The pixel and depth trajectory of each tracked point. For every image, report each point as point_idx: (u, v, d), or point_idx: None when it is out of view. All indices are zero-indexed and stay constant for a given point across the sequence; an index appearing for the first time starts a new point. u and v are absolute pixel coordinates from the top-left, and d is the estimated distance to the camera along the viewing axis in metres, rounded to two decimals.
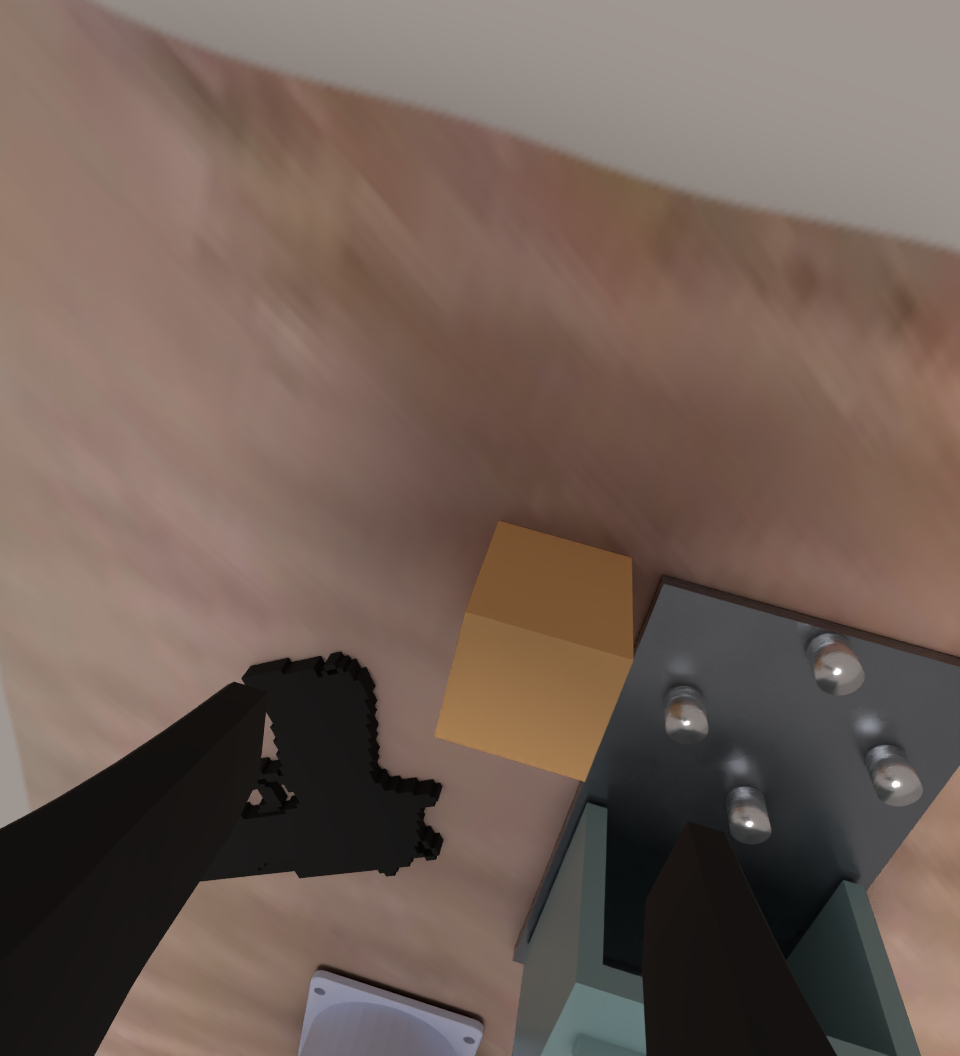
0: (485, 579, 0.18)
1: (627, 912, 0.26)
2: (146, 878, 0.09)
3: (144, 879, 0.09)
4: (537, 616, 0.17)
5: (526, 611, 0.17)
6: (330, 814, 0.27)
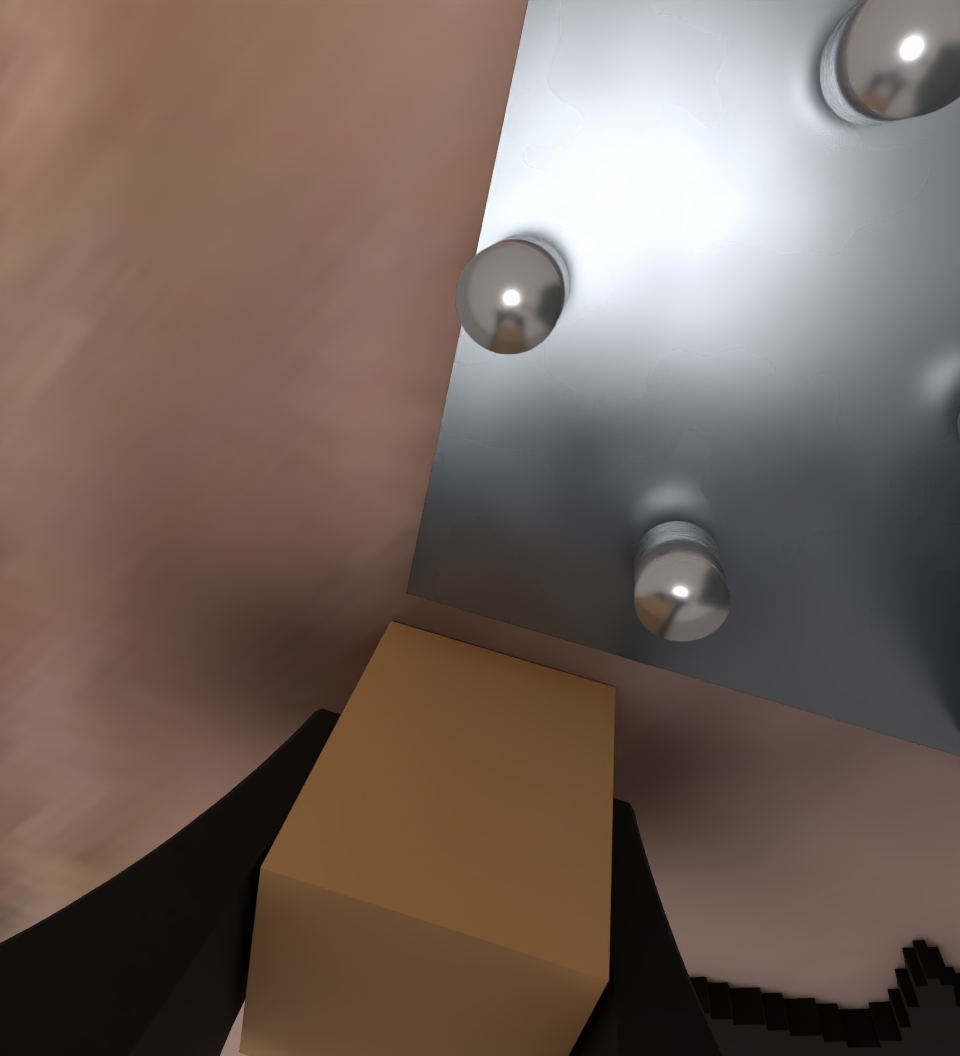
0: None
1: None
2: None
3: None
4: None
5: None
6: None
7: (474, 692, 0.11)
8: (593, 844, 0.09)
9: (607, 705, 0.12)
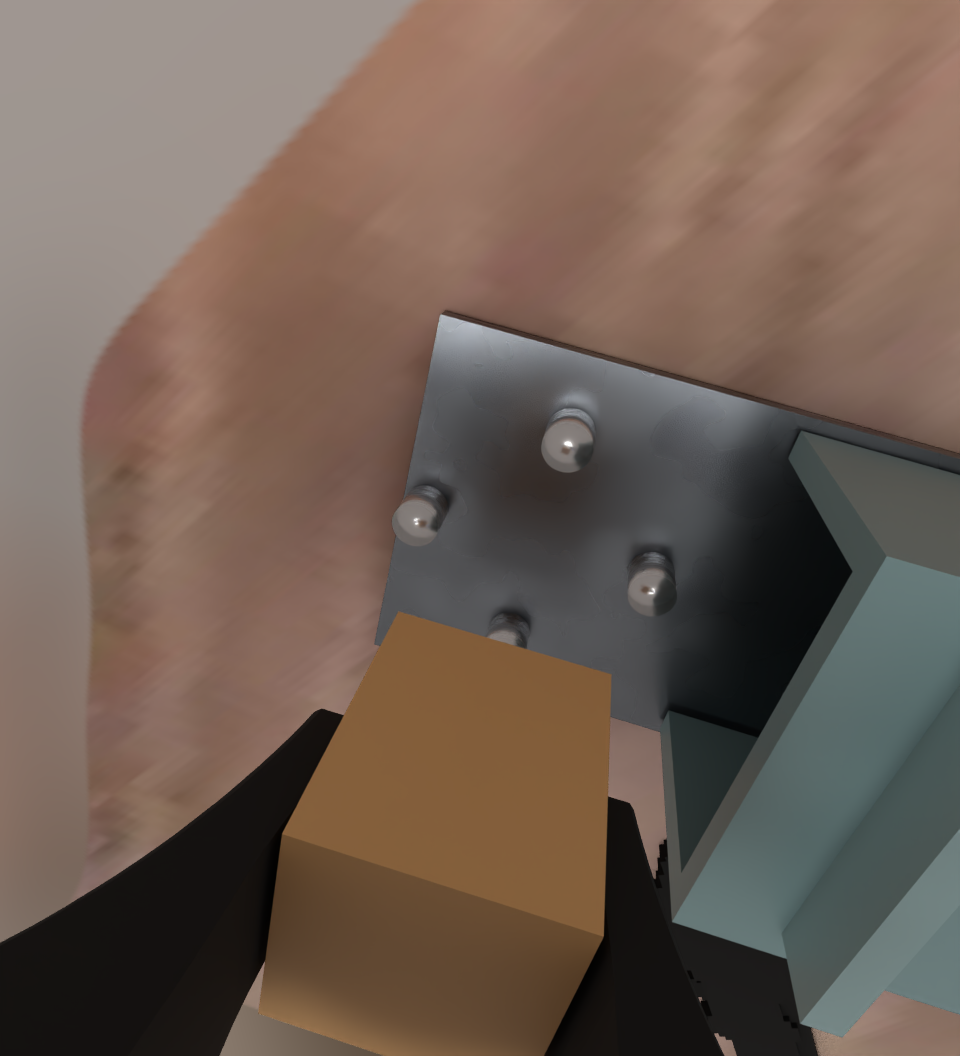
0: None
1: None
2: (255, 914, 0.09)
3: (254, 915, 0.09)
4: None
5: None
6: (699, 947, 0.25)
7: (477, 678, 0.12)
8: (589, 815, 0.10)
9: (603, 691, 0.12)
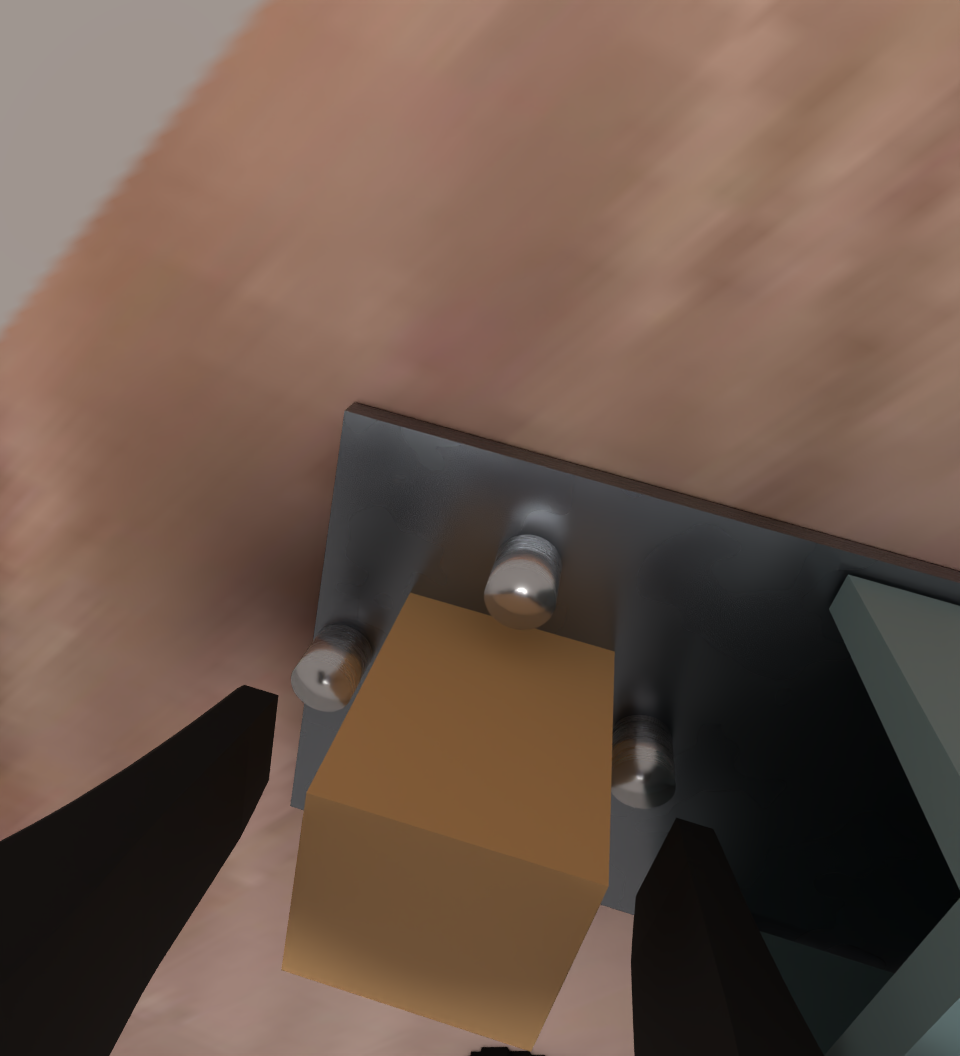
0: None
1: (939, 899, 0.15)
2: (159, 882, 0.09)
3: (157, 883, 0.09)
4: None
5: None
6: None
7: (487, 654, 0.12)
8: (594, 779, 0.10)
9: (607, 667, 0.13)
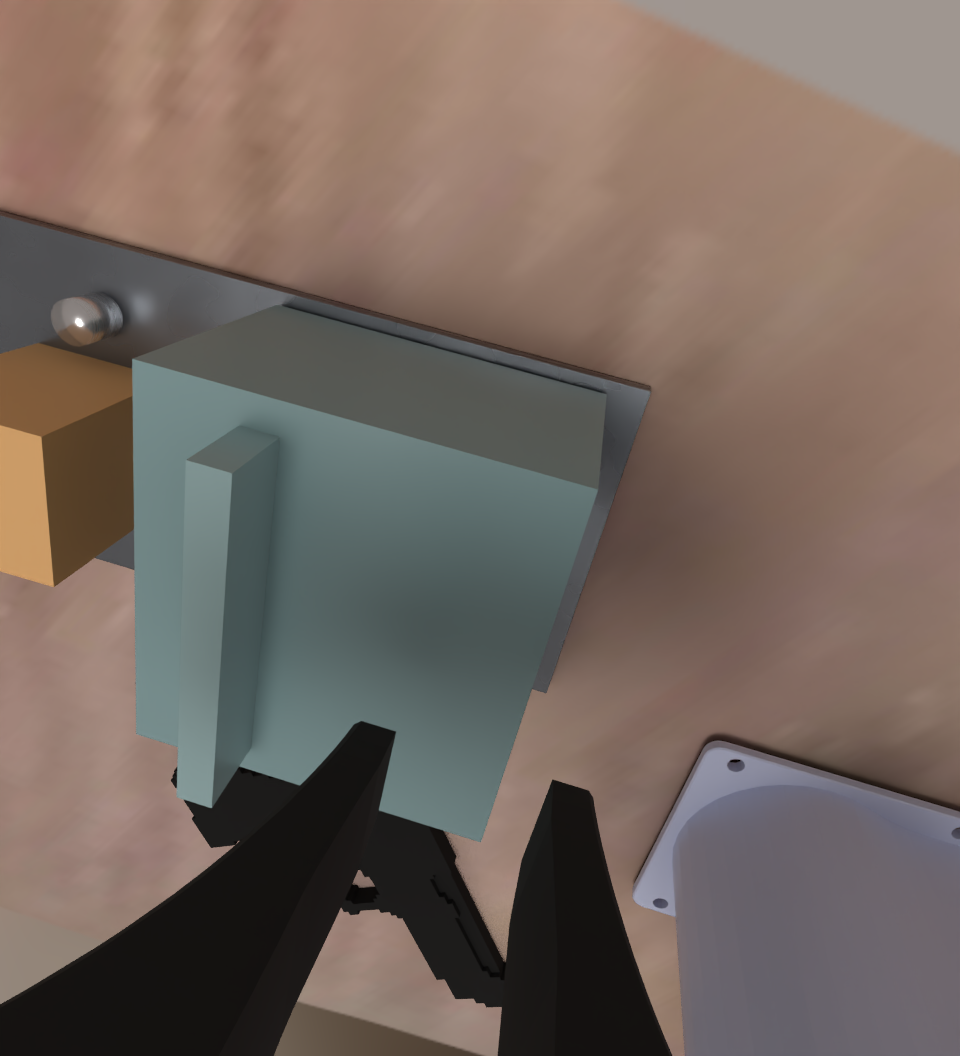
0: None
1: None
2: (306, 930, 0.09)
3: (305, 932, 0.09)
4: None
5: None
6: None
7: (66, 368, 0.19)
8: (82, 411, 0.17)
9: None
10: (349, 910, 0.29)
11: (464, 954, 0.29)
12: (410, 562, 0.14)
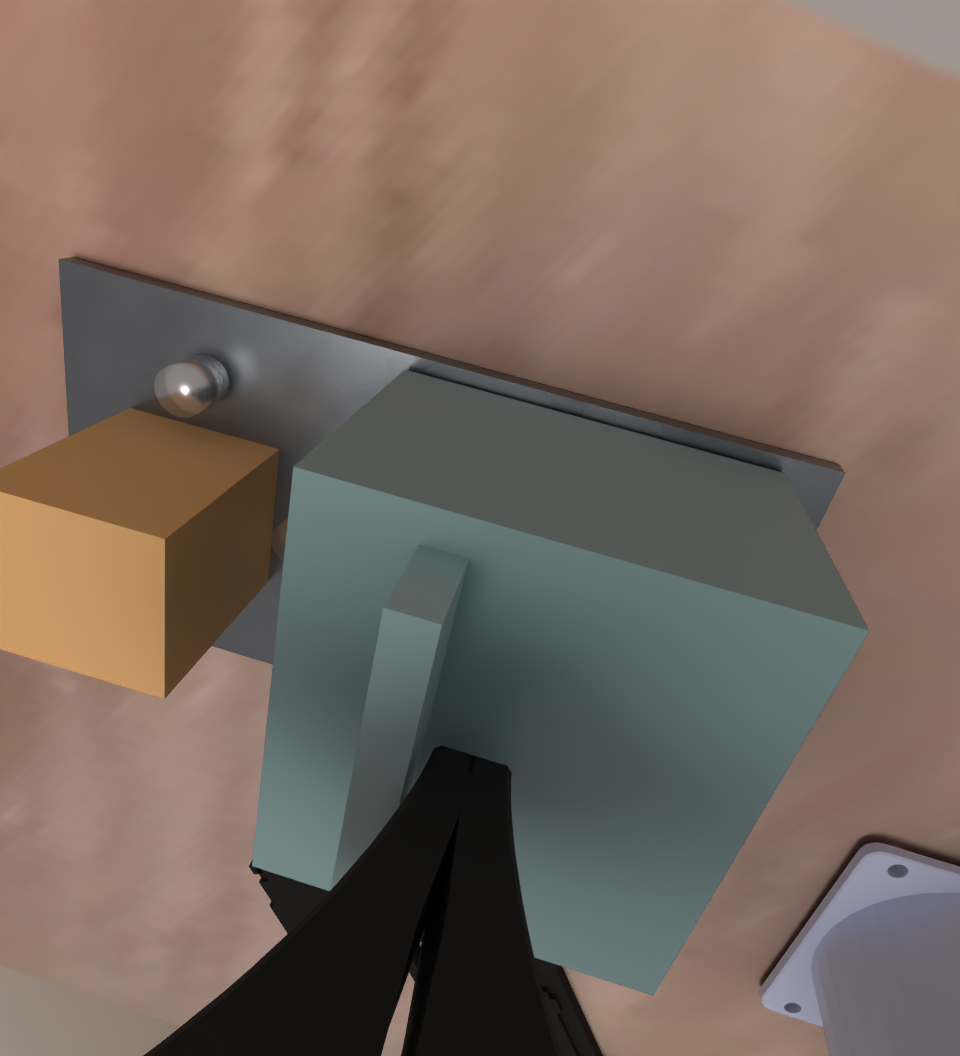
0: None
1: None
2: (406, 963, 0.09)
3: (406, 965, 0.09)
4: None
5: None
6: None
7: (168, 440, 0.17)
8: (200, 499, 0.15)
9: (264, 455, 0.17)
10: None
11: (563, 1050, 0.26)
12: (614, 701, 0.12)
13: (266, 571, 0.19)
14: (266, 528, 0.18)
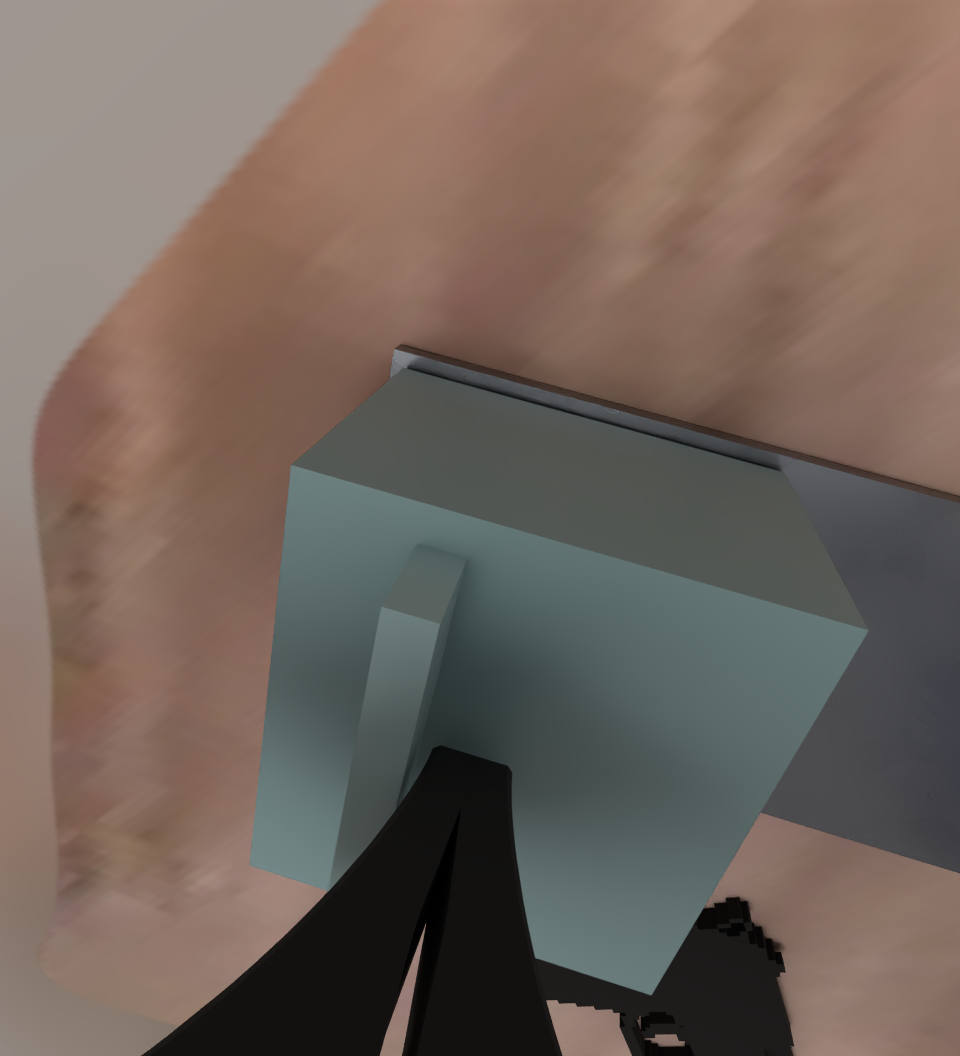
0: None
1: (856, 742, 0.18)
2: (405, 963, 0.09)
3: (405, 965, 0.09)
4: None
5: None
6: (680, 993, 0.24)
7: None
8: None
9: None
10: None
11: None
12: (612, 701, 0.12)
13: None
14: None
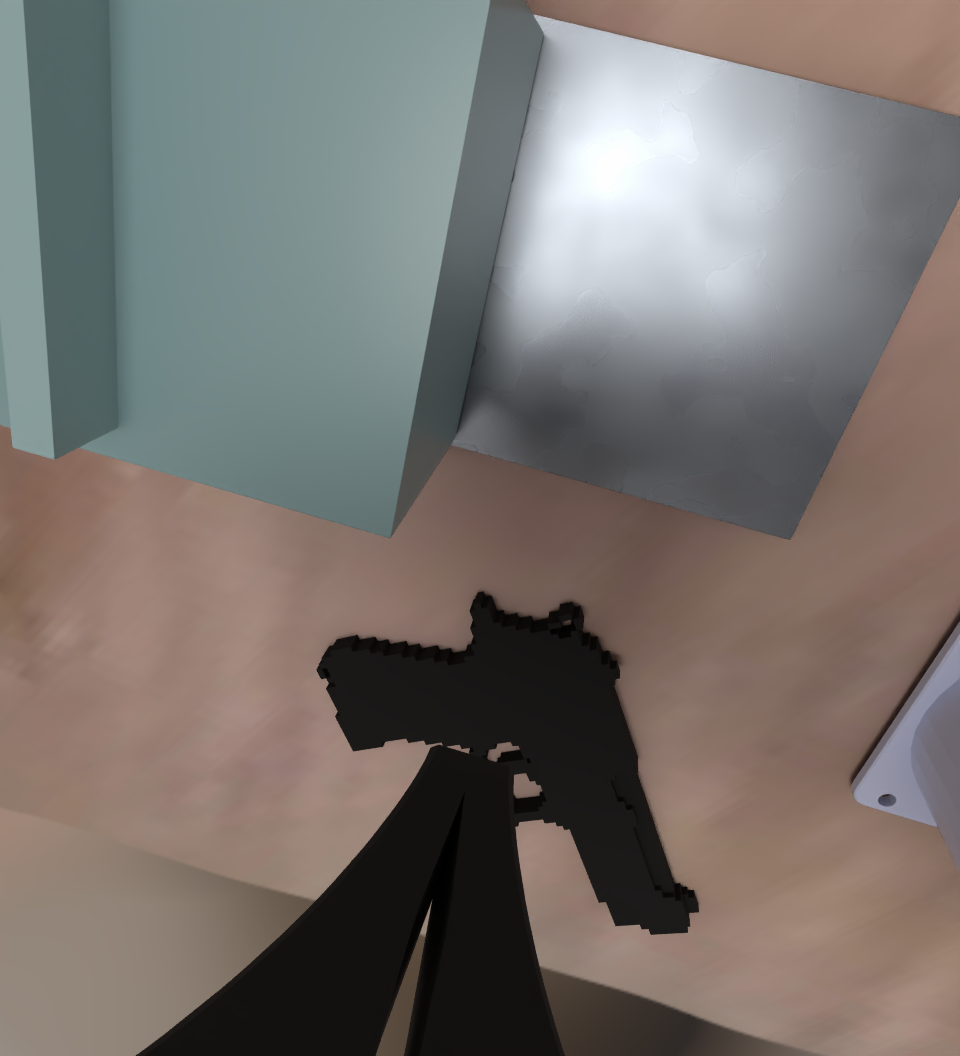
0: None
1: (655, 378, 0.18)
2: (402, 961, 0.09)
3: (403, 964, 0.09)
4: None
5: None
6: (522, 716, 0.23)
7: None
8: None
9: None
10: None
11: (637, 870, 0.26)
12: (279, 109, 0.11)
13: None
14: None
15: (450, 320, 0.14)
